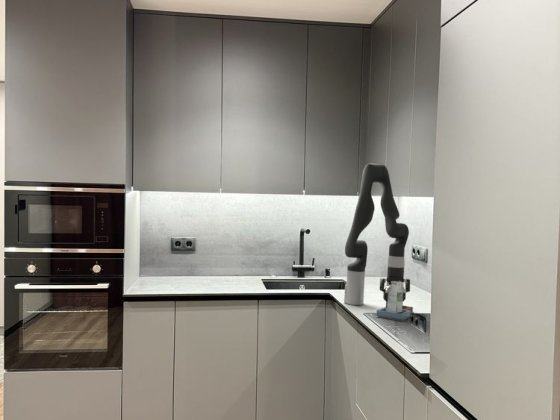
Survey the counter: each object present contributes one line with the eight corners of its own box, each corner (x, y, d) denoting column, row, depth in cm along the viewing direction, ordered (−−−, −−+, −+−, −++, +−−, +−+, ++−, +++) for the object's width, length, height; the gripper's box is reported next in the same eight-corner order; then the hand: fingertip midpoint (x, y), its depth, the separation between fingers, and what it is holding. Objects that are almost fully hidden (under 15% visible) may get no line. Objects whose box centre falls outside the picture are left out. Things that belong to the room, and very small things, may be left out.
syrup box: (391, 310, 218) (392, 279, 219) (403, 312, 214) (403, 281, 214) (385, 311, 214) (386, 280, 214) (396, 313, 210) (397, 281, 210)
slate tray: (376, 316, 213) (376, 310, 213) (386, 312, 222) (386, 306, 222) (401, 321, 206) (401, 314, 206) (410, 317, 216) (410, 310, 216)
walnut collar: (385, 311, 225) (386, 306, 225) (393, 308, 233) (393, 303, 233) (405, 315, 219) (406, 310, 219) (412, 312, 227) (412, 307, 227)
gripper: (406, 265, 219) (404, 299, 219) (378, 264, 217) (376, 299, 217) (414, 267, 212) (412, 302, 212) (384, 266, 209) (383, 302, 209)
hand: (394, 300), depth 214 cm, fingers closed on syrup box, 8 cm apart
